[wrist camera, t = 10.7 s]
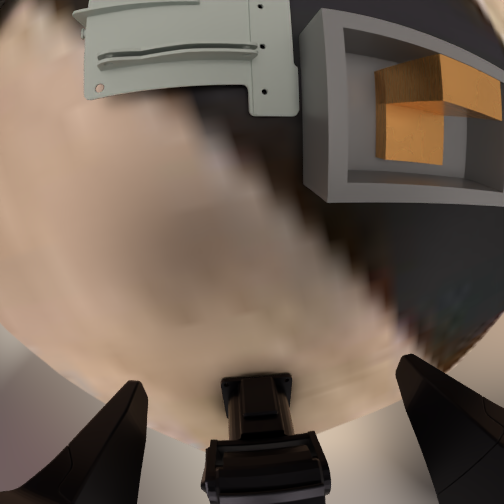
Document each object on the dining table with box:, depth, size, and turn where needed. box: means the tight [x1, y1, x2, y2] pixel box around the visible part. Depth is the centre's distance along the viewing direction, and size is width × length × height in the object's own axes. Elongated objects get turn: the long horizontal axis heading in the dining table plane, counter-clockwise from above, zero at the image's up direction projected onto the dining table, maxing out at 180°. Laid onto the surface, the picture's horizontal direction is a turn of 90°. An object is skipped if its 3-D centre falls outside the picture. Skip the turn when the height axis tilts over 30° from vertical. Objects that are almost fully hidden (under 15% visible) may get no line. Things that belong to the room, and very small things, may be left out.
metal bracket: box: [73, 0, 299, 117], centre depth 12 cm, size 14×6×15 cm
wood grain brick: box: [374, 54, 502, 165], centre depth 13 cm, size 6×5×7 cm
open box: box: [299, 8, 504, 207], centre depth 14 cm, size 10×15×5 cm, turn 92°
